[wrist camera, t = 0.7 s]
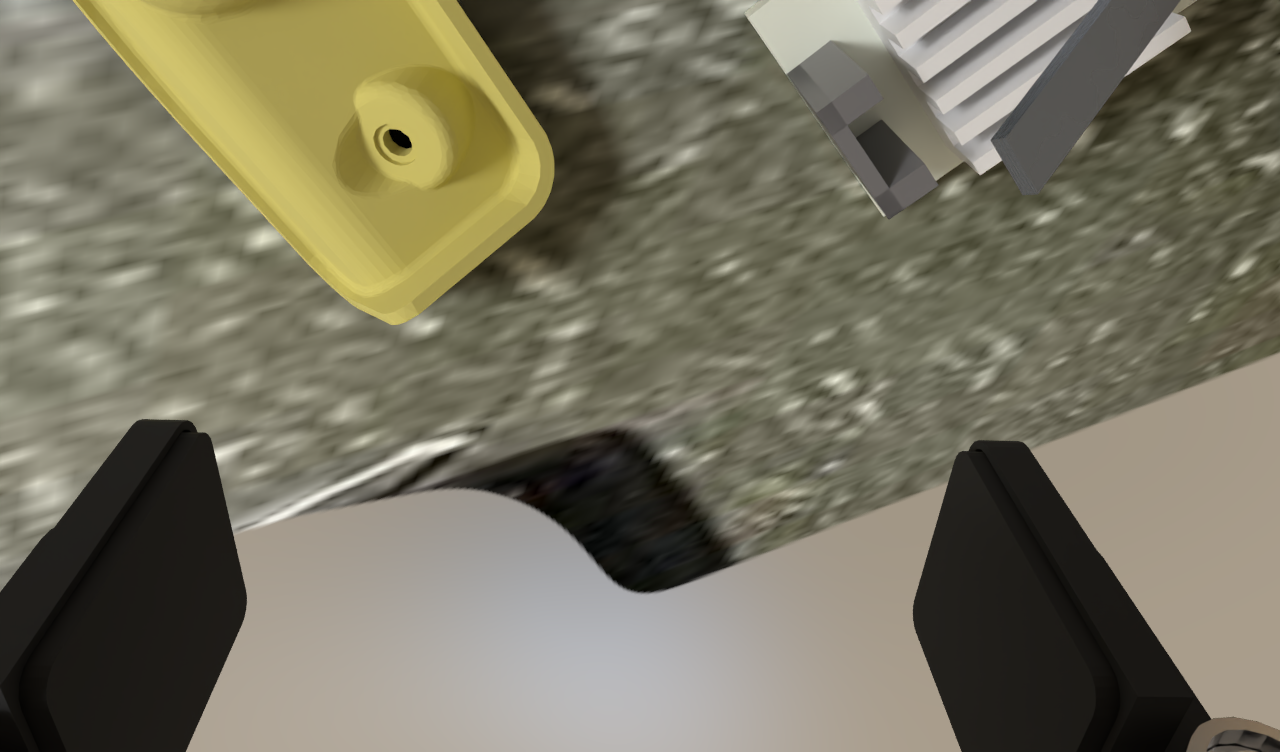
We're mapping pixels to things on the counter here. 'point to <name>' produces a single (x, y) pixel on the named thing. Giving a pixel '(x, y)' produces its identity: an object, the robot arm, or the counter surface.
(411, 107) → the plastic component
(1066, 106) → the grey long flat bar
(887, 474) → the counter surface
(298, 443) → the counter surface
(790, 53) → the heatsink board
